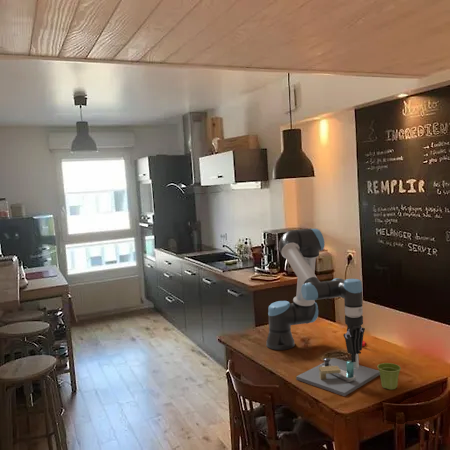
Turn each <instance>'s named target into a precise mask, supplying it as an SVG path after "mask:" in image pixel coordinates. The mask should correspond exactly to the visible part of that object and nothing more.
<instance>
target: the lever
mask: <svg viewBox="0 0 450 450" xmlns="http://www.w3.org/2000/svg"><path fill="white" fill-rule="evenodd" d="M330 359H331V358H329V357H323V362H322V363H323V364H322V363H320V364H319V365H320V367H325V366H333V365H332V364H330V363H329V361H330ZM345 361H346V371H344V370H341V369H340V370H341V373H332V374H334V375H336V376H338V377H340V378H342V379H344V380H346V381H348V382H351V381H354V380H356V376H354V365H353V361H351V360H345ZM324 362H325V363H324Z"/></svg>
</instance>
